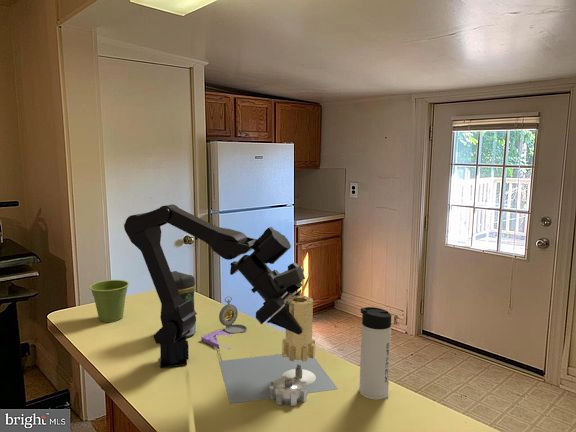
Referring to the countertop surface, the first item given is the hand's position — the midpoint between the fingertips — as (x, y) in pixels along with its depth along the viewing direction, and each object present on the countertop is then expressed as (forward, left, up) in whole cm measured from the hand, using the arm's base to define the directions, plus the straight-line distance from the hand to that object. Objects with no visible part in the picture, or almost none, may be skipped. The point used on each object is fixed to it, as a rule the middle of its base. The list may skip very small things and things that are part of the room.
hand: (304, 327), depth 99 cm
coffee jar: (-27, +37, -14) cm, 48 cm away
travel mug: (+13, -9, -14) cm, 21 cm away
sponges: (-15, +27, -14) cm, 34 cm away
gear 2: (-6, -6, -12) cm, 15 cm away
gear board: (-6, +4, -13) cm, 15 cm away
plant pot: (-48, +55, -14) cm, 74 cm away
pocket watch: (-11, +36, -14) cm, 40 cm away
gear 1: (-1, +1, -7) cm, 7 cm away
